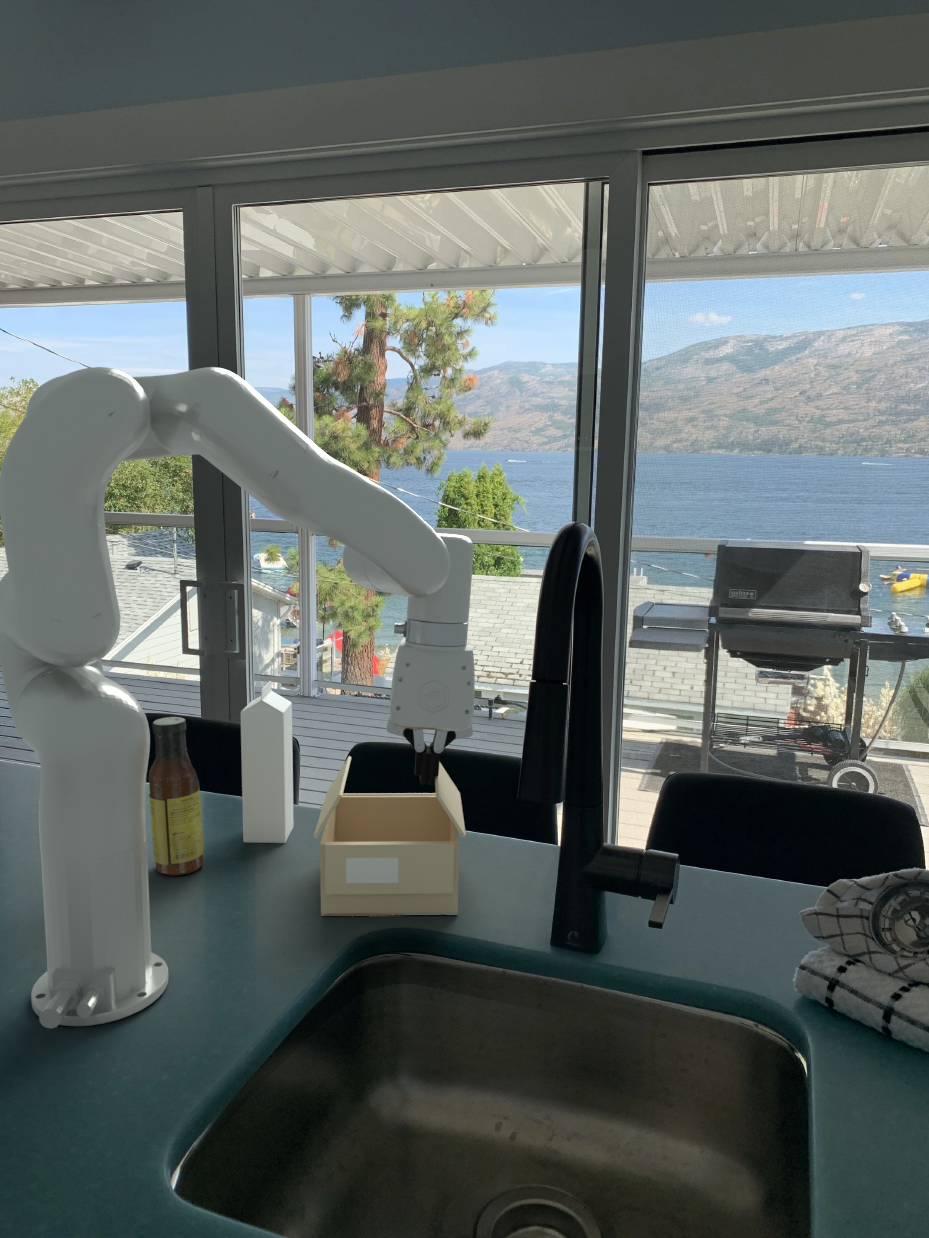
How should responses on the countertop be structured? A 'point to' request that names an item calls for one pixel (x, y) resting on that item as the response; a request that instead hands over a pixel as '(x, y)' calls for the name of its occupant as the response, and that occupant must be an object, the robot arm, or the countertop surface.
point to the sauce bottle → (174, 802)
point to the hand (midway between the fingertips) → (425, 781)
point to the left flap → (332, 797)
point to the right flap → (450, 799)
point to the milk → (267, 768)
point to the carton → (389, 856)
